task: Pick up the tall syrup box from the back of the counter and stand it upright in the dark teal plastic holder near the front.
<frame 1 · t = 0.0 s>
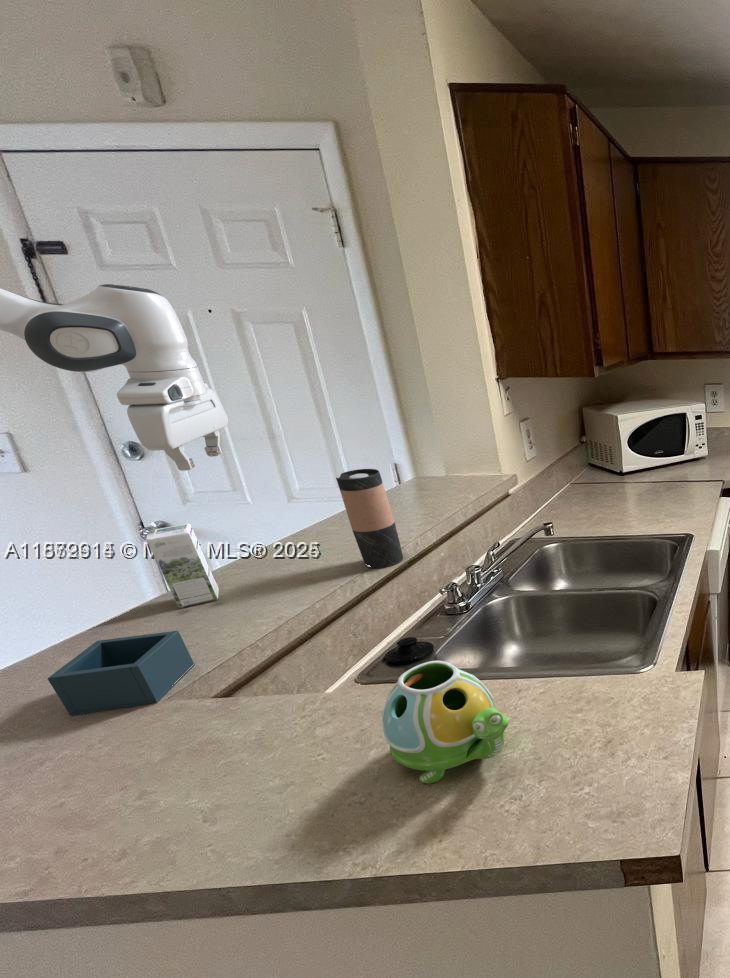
hand: (202, 462, 112), 26 cm above the counter, tool pointing down, fingers open, 8 cm apart
syrup box: (200, 600, 118), on the counter
turtle holder: (459, 752, 81), on the counter
travel mug: (384, 562, 134), on the counter
holder: (136, 688, 93), on the counter
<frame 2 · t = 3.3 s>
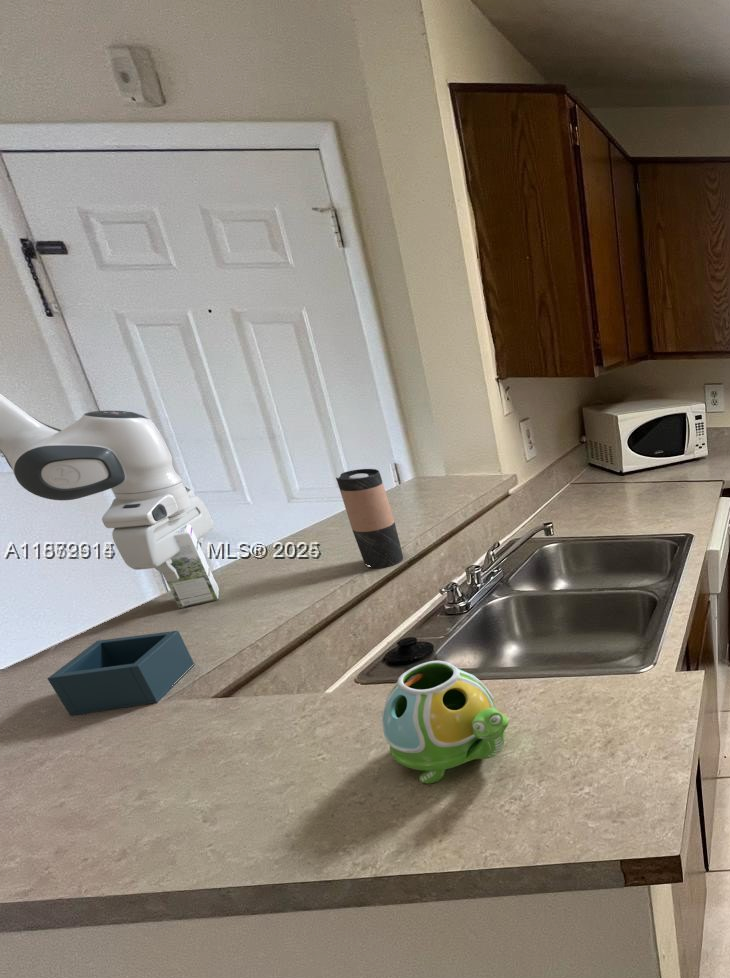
hand: (187, 570, 115), 6 cm above the counter, tool pointing down, fingers closed on syrup box, 7 cm apart
syrup box: (200, 600, 118), on the counter, touching gripper
everything else where it was.
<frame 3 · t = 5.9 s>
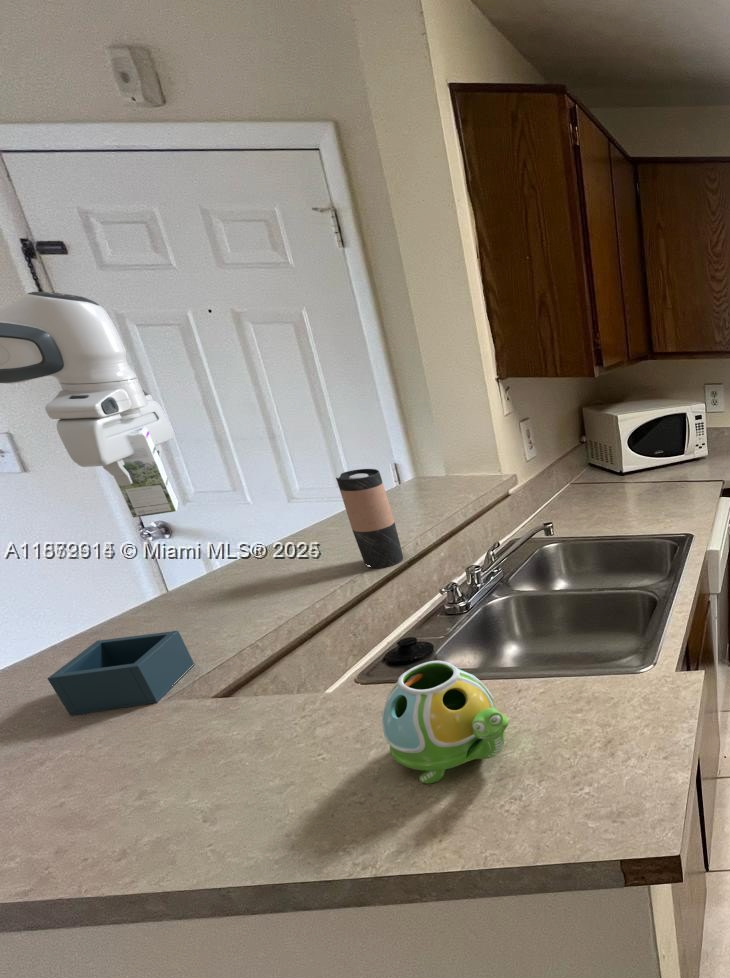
hand: (142, 477, 107), 25 cm above the counter, tool pointing down, fingers closed on syrup box, 7 cm apart
syrup box: (157, 511, 110), point 18 cm above the counter, touching gripper
everything else where it was.
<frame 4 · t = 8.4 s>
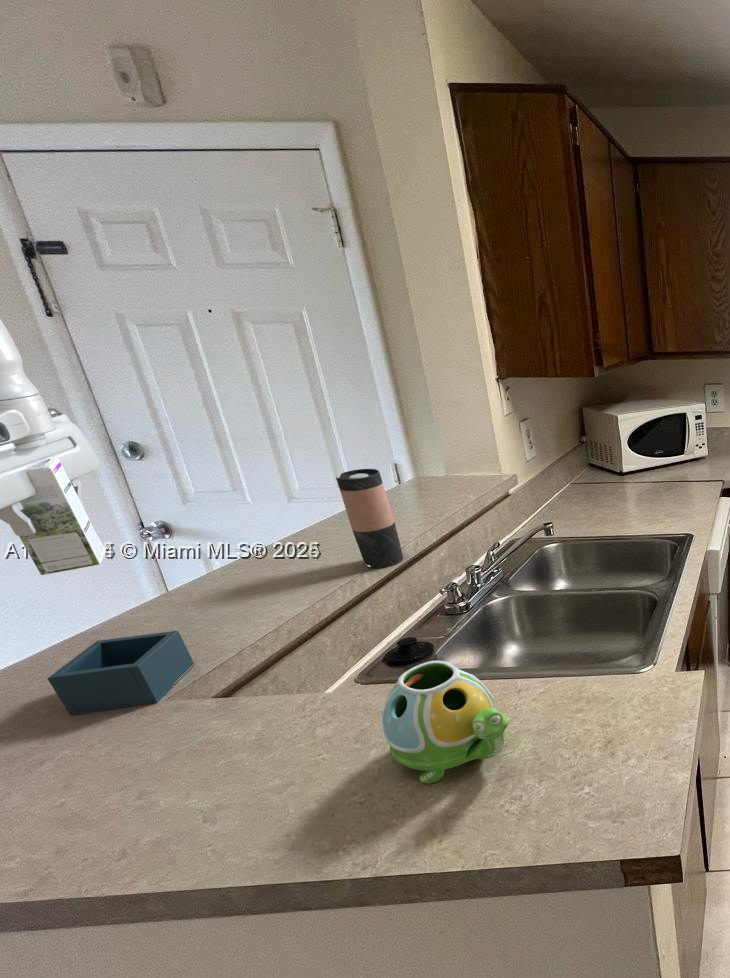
hand: (53, 522, 83), 27 cm above the counter, tool pointing down, fingers closed on syrup box, 7 cm apart
syrup box: (76, 565, 85), point 20 cm above the counter, touching gripper
everything else where it was.
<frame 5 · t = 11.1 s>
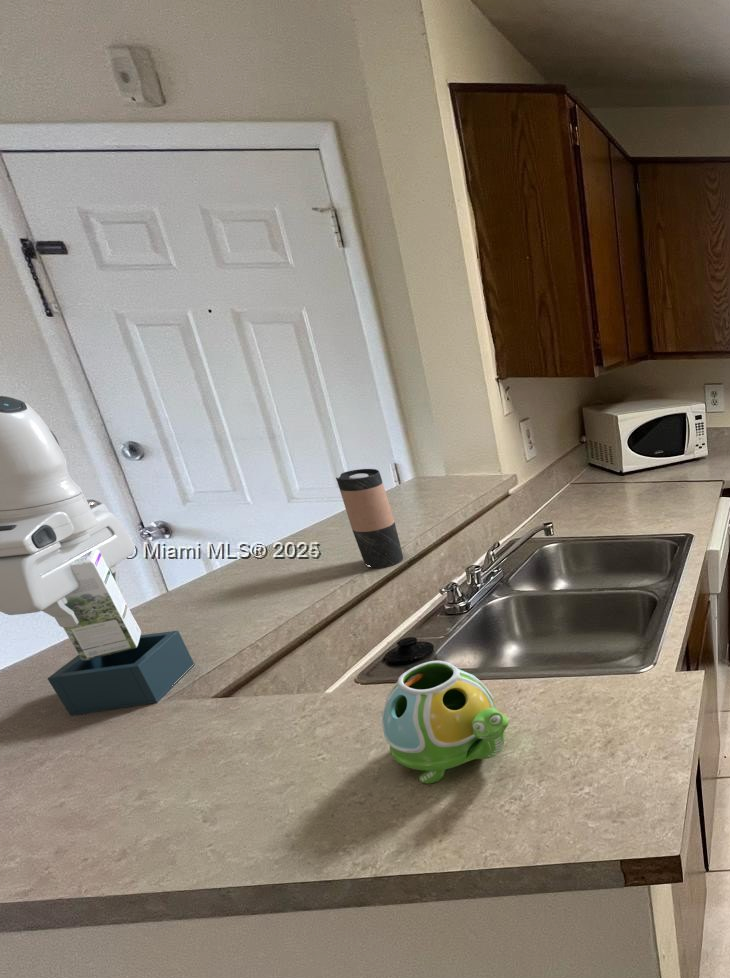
hand: (93, 610, 87), 14 cm above the counter, tool pointing down, fingers closed on syrup box, 7 cm apart
syrup box: (114, 648, 90), point 7 cm above the counter, touching gripper
everything else where it was.
when the fingers open (7 cm above the counter, at t = 13.4 s): syrup box stays where it is, resting on holder.
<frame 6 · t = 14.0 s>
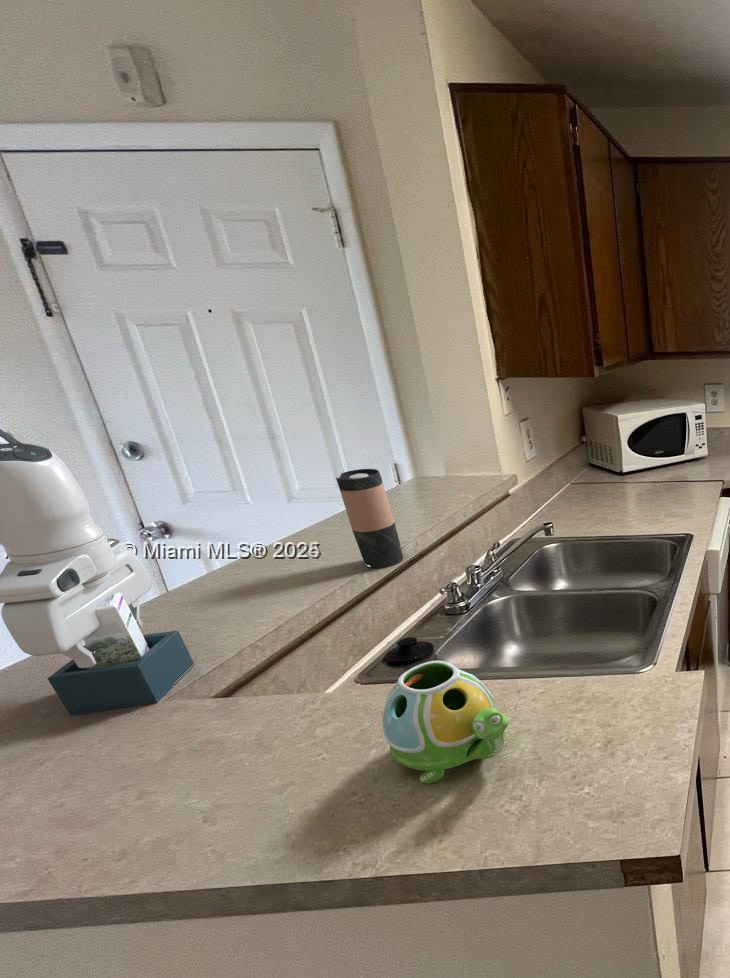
hand: (113, 646, 89), 8 cm above the counter, tool pointing down, fingers open, 8 cm apart
syrup box: (135, 686, 92), resting on holder
everything else where it was.
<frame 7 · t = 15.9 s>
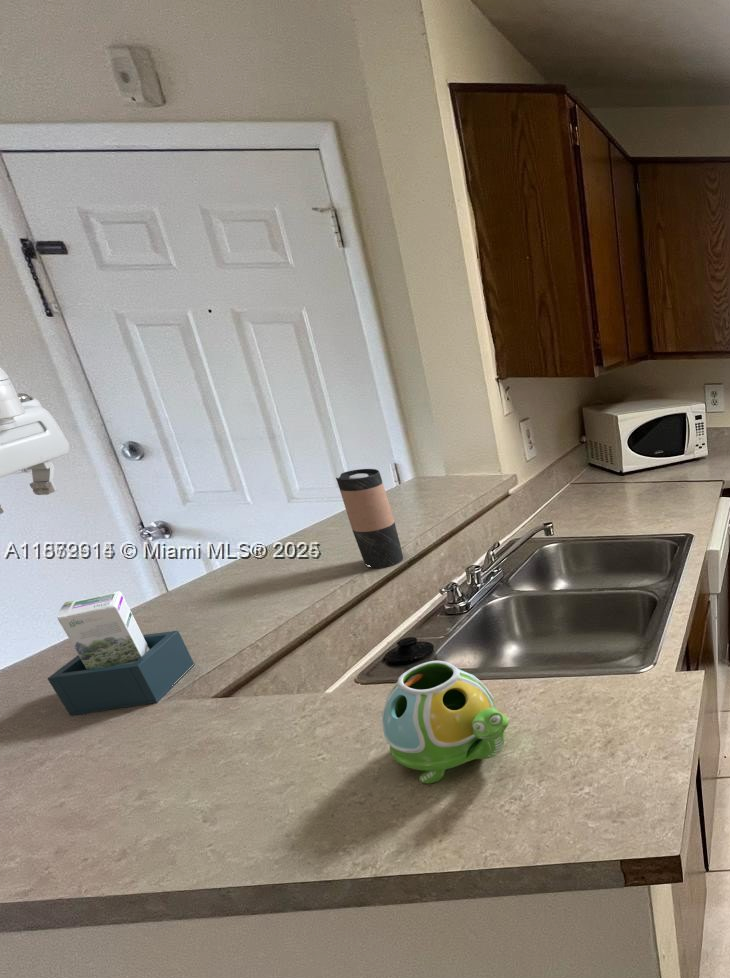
hand: (20, 504, 85), 28 cm above the counter, tool pointing down, fingers open, 8 cm apart
nothing on the counter moved.
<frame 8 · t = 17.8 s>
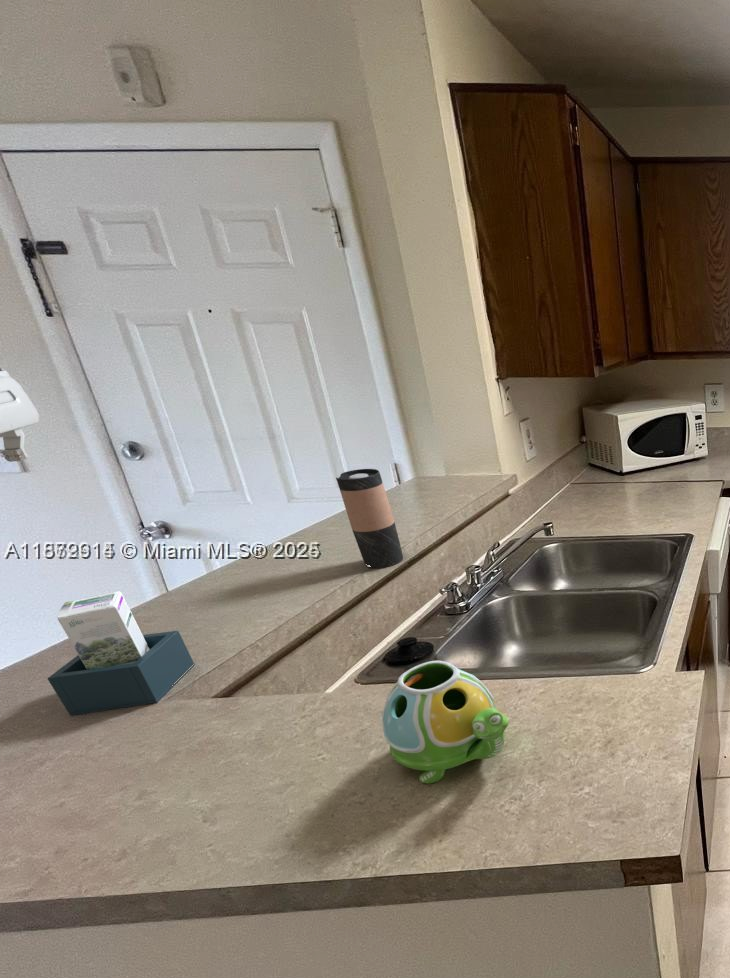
nothing on the counter moved.
at the end: syrup box 0.1 cm off-centre in the holder, point 0.3 cm above the holder's base; syrup box tilted 0° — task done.
